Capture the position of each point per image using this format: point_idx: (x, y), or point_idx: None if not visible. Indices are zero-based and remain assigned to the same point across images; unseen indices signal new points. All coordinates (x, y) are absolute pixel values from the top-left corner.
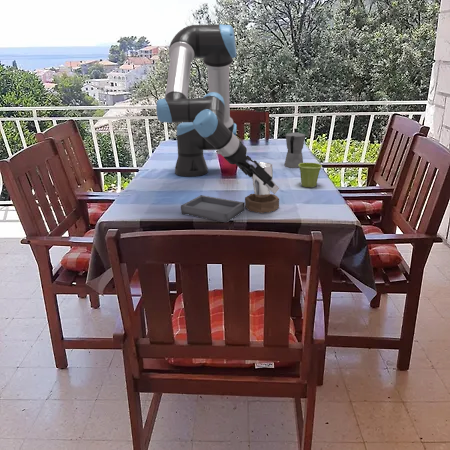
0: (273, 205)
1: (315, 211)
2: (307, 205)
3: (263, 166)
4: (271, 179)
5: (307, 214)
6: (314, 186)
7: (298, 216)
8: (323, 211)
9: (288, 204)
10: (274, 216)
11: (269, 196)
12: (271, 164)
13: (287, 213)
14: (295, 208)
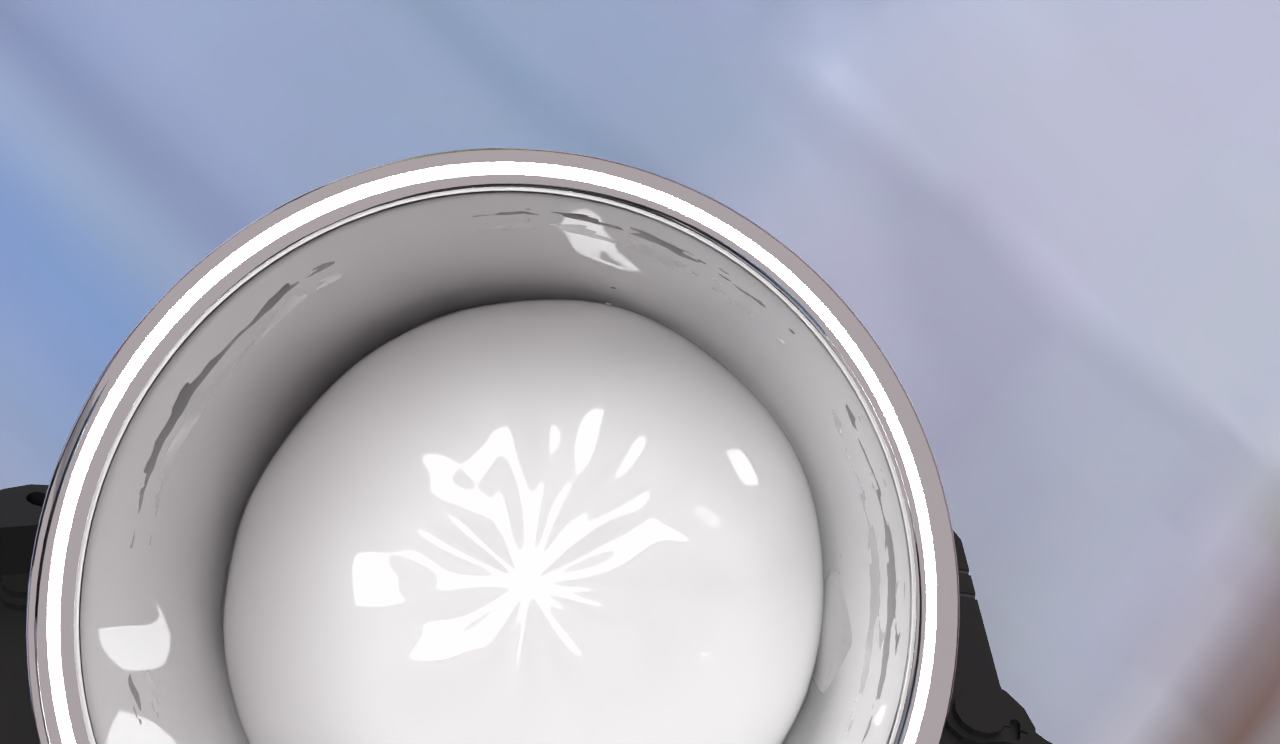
0: None
1: (1210, 110)
2: (956, 3)
3: (274, 308)
4: (812, 482)
5: (1237, 286)
6: None
7: (1225, 449)
8: (1274, 31)
9: (743, 172)
10: None
11: None
12: (707, 221)
13: (1032, 480)
14: (942, 226)
